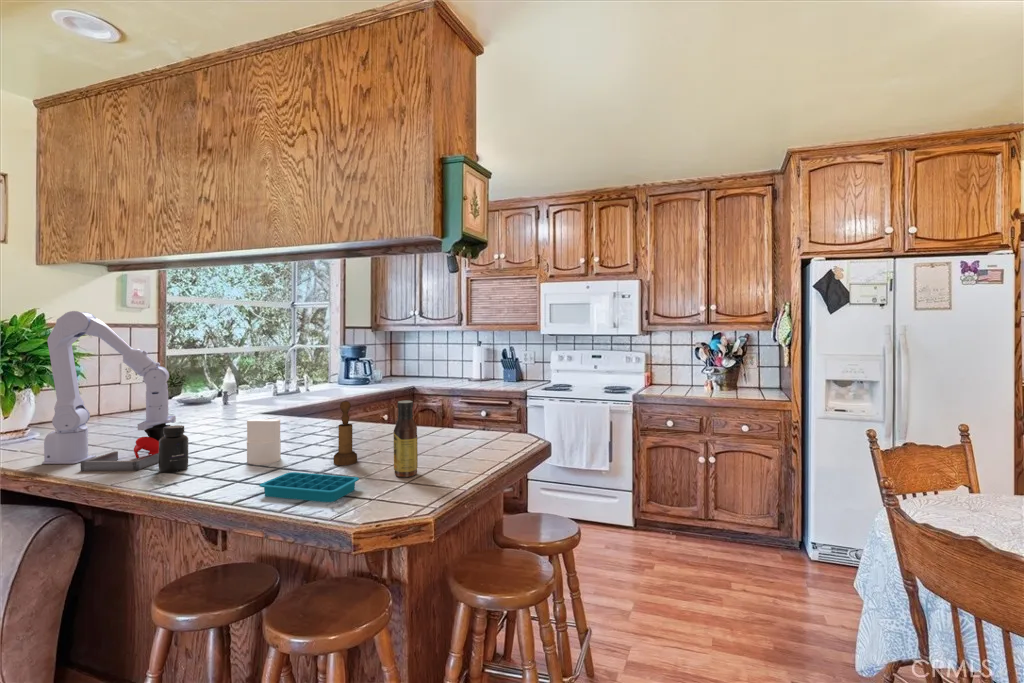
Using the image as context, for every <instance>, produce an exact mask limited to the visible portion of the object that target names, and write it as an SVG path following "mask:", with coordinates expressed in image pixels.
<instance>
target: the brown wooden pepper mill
mask: <svg viewBox="0 0 1024 683" xmlns="http://www.w3.org/2000/svg"><path fill="white" fill-rule="evenodd" d="M339 408H340V411H341V413H342V416H341V422H342V423H340V424H338V448H337V449H338V450H337V452H336V453H335V454H334V455H333V464H334V465H336V466H350V465H354V464H356V463H358V453H357V452H355V451H354V450H353V423H349V422H350V415H349V411H350V410H351V403H350V401H348V400H345V401H342V402H340V404H339Z"/></svg>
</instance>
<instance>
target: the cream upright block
mask: <svg viewBox="0 0 1024 683" xmlns="http://www.w3.org/2000/svg"><path fill="white" fill-rule="evenodd" d="M246 431H247V432H246V433H247V434H246V436H247V437H246V463H247V464H248V465H265V464H266V465H267V464H273V463H276V462H278V461H280V460H281V458H282V456H281V454H282V451H281V449H282V448H281V447H282V446H281V440H282V439H281V419H280V418H279V419H275V418H274V419H272V418H271V419H267V418H265V419H263V418H251V419H248V420H246Z"/></svg>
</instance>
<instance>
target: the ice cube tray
mask: <svg viewBox="0 0 1024 683" xmlns="http://www.w3.org/2000/svg"><path fill="white" fill-rule="evenodd" d="M359 480H360V477H358V476H348V475H346V476H345V475H336V474H335V475H334V474H323V473H308V472H298V471H296V472H295V471H293V472H292V471H290V472H286V473H284V474H281V475H278V476H277V477H273V478H271V479H269V480H266V481H264V482H262V483H259V487H260V488H263V489H264V497H270V498H278V499H279V498H281V499H290V500H291V499H292V500H299V501H300V500H301V501H311V502H322V503H332V502H335V501H337V500H339V499H341V498H342V497H345V496H346V495H348V494H350V493H353V491H355V488H356V487H355V486H356V482H358V481H359Z"/></svg>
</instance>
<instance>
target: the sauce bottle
mask: <svg viewBox="0 0 1024 683" xmlns="http://www.w3.org/2000/svg"><path fill="white" fill-rule="evenodd" d="M413 407H414V402H413V400H400V401H397V408H398V410H397V420H396V423H395V426H394V429H393V470H394V471H393V472H394V475H395V476H396V477H398V478H399V477H400V478H412V477H414V476H415V475H418V474H417V473H418V464H419V463H418V459H419V458H418V457H419V456H418V455H419V454H418V453H419V452H418V426H417V423H416V421H415V420H414V419H413V416H414V415H413Z"/></svg>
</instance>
